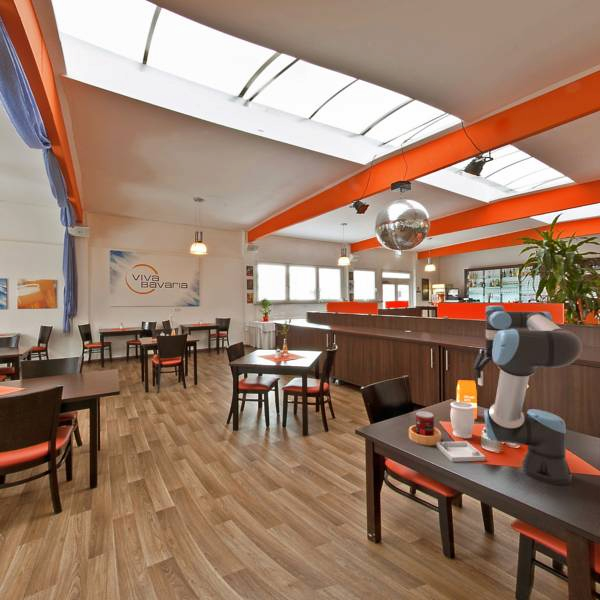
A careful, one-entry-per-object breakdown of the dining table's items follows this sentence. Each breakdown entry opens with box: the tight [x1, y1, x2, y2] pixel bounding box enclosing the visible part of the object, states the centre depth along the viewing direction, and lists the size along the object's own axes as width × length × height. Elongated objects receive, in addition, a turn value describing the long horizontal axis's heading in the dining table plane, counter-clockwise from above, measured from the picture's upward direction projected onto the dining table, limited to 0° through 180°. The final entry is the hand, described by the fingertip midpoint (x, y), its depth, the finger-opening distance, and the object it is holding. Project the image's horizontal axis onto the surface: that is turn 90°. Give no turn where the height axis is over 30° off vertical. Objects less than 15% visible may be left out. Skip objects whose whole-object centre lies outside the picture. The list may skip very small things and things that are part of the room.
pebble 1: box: [441, 441, 448, 449], centre depth 148 cm, size 3×3×3 cm
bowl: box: [408, 424, 442, 446], centre depth 158 cm, size 14×14×4 cm
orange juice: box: [456, 379, 478, 420], centre depth 187 cm, size 8×9×20 cm
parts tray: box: [435, 440, 486, 463], centre depth 144 cm, size 14×14×2 cm
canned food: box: [415, 410, 435, 436], centre depth 158 cm, size 8×8×11 cm
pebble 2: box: [472, 450, 481, 456], centre depth 139 cm, size 3×3×3 cm
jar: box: [449, 401, 476, 439], centre depth 162 cm, size 11×10×15 cm
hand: (494, 384), depth 154 cm, fingers open, 13 cm apart
